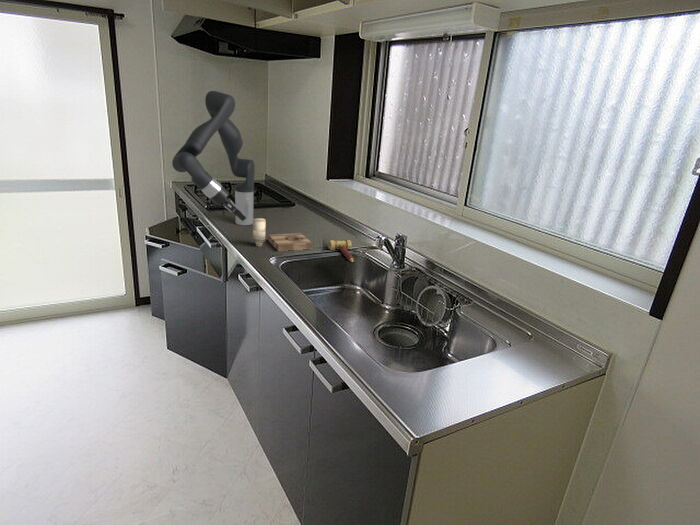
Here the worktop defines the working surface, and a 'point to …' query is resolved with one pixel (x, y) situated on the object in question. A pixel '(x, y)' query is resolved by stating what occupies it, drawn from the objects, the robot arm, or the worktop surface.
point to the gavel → (342, 247)
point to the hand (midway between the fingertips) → (242, 216)
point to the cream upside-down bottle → (259, 231)
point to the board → (289, 242)
